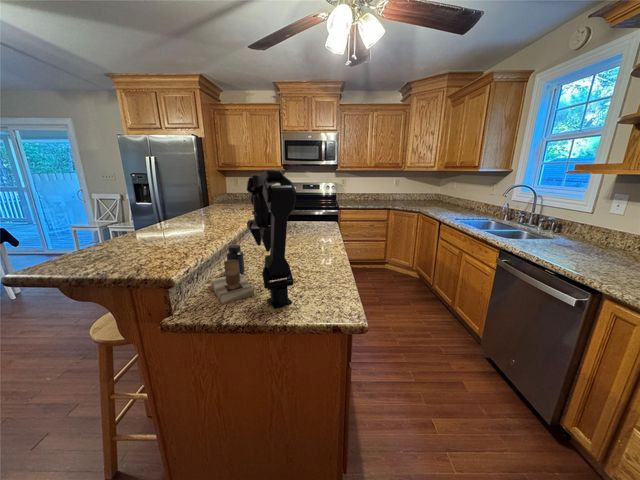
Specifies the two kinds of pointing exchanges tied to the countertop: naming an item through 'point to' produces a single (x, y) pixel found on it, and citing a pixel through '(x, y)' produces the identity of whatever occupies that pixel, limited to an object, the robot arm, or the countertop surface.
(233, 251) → the supplement bottle
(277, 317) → the countertop surface
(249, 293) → the board
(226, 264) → the walnut peg
